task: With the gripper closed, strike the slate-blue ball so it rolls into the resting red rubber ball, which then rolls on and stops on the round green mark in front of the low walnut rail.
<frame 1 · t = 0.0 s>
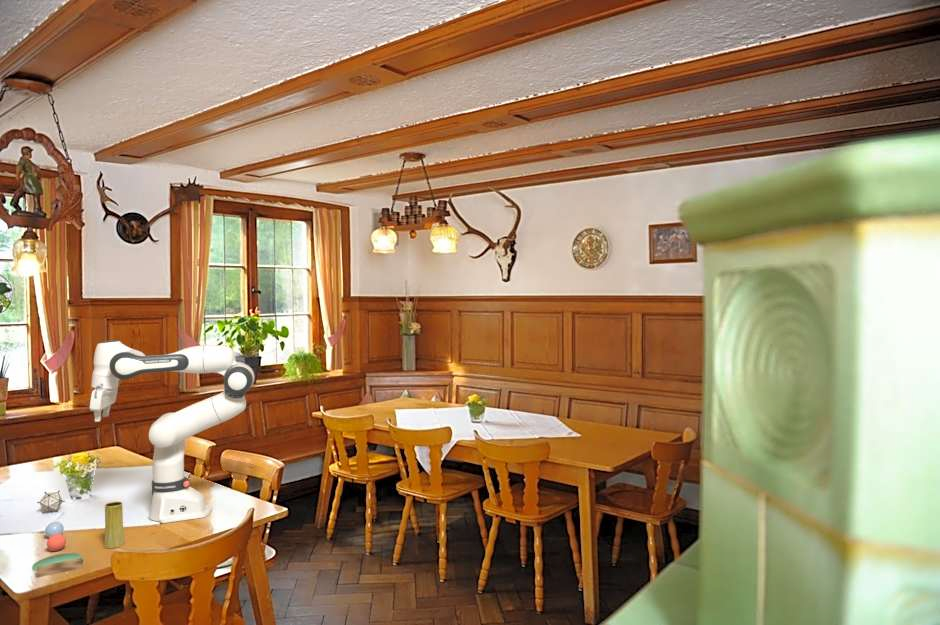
hand: (101, 418, 243), 39 cm above the table, tool pointing down, fingers open, 8 cm apart
blue ball: (54, 529, 227), on the table
vase: (114, 545, 220), on the table
red ball: (56, 542, 215), on the table
green mark: (58, 562, 206), on the table
game die: (51, 512, 254), on the table
walnut stop: (60, 571, 199), on the table
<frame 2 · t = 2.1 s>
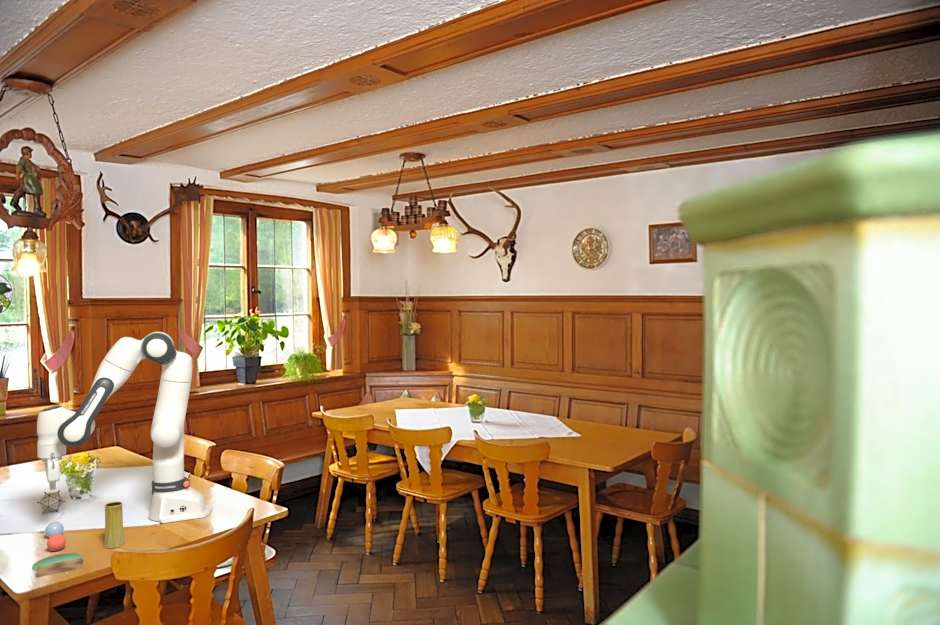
hand: (52, 488, 234), 15 cm above the table, tool pointing down, fingers closed
nothing on the table moved.
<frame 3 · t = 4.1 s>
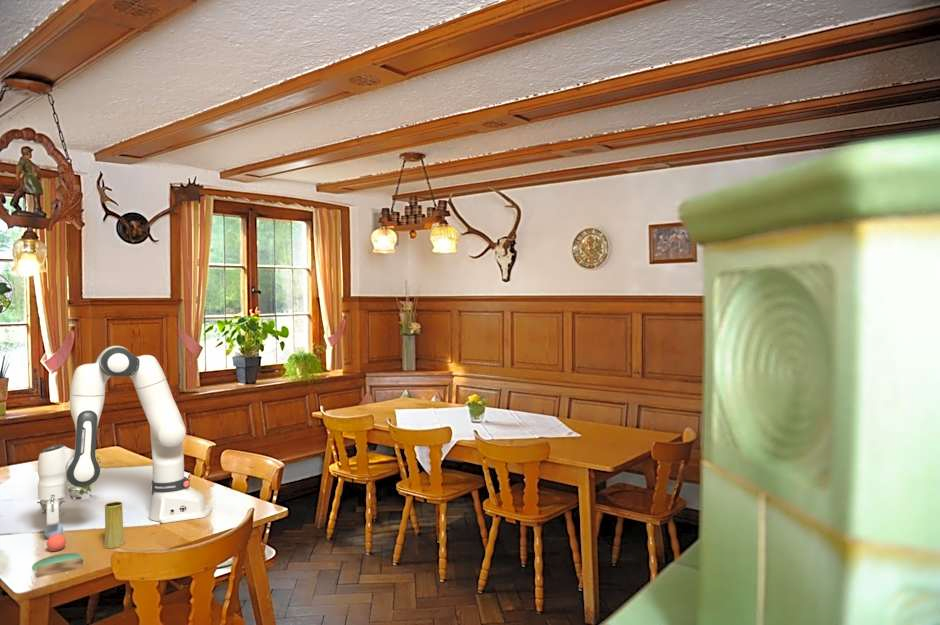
hand: (53, 530, 229), 2 cm above the table, tool pointing down, fingers closed
blue ball: (53, 530, 226), on the table, touching gripper
everything else where it was.
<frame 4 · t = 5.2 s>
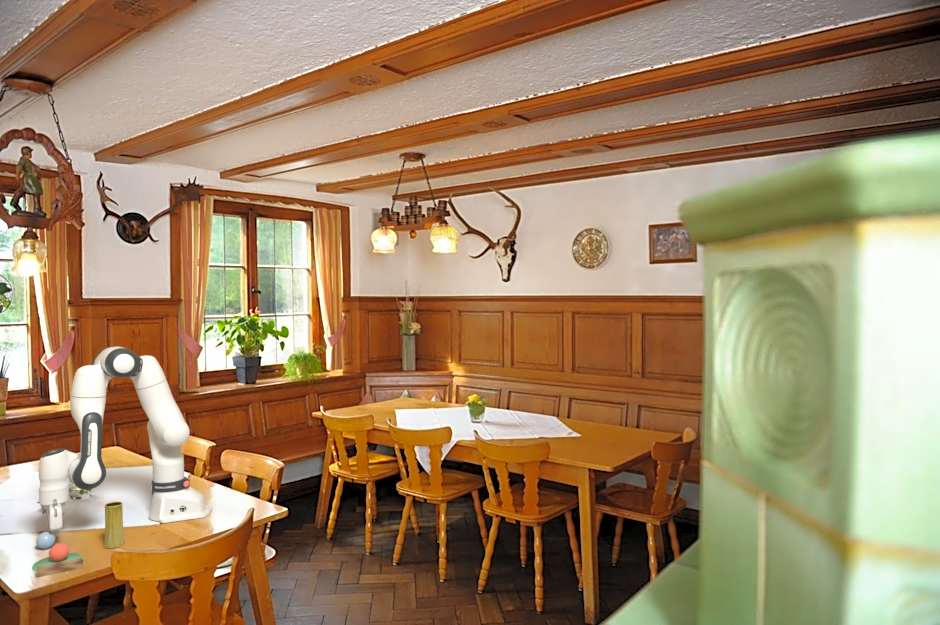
hand: (54, 535, 224), 2 cm above the table, tool pointing down, fingers closed
blue ball: (45, 540, 217), on the table
red ball: (59, 552, 207), on the table
everything else where it was.
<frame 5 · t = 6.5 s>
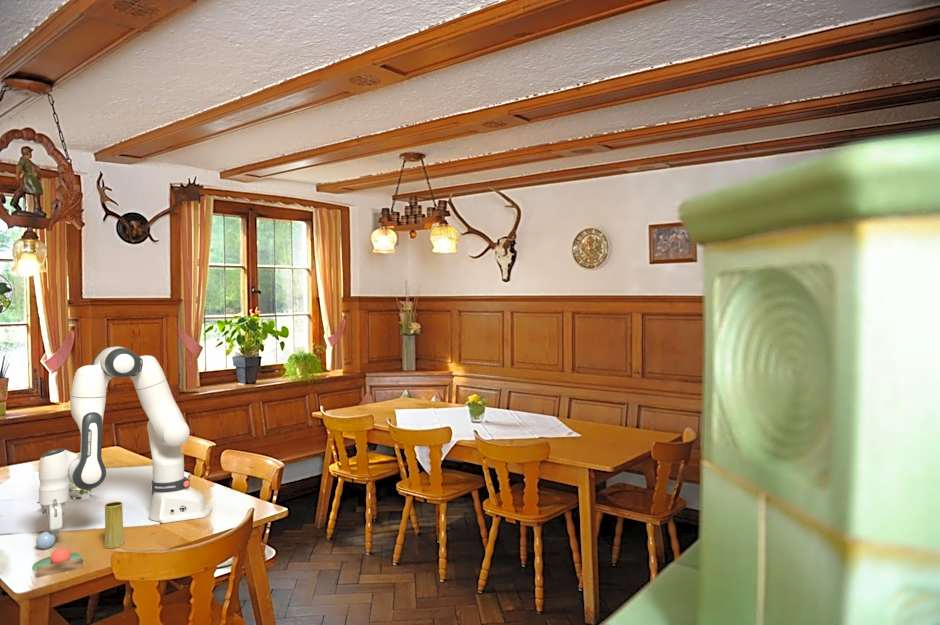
hand: (54, 535, 224), 2 cm above the table, tool pointing down, fingers closed
red ball: (60, 557, 203), on the table
everything else where it was.
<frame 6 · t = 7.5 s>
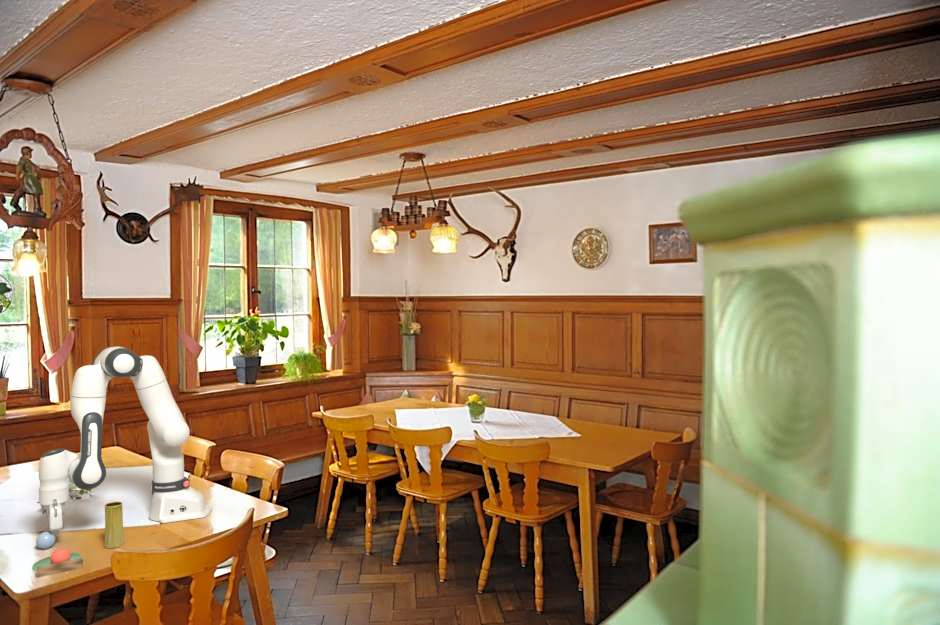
hand: (54, 535, 224), 2 cm above the table, tool pointing down, fingers closed
nothing on the table moved.
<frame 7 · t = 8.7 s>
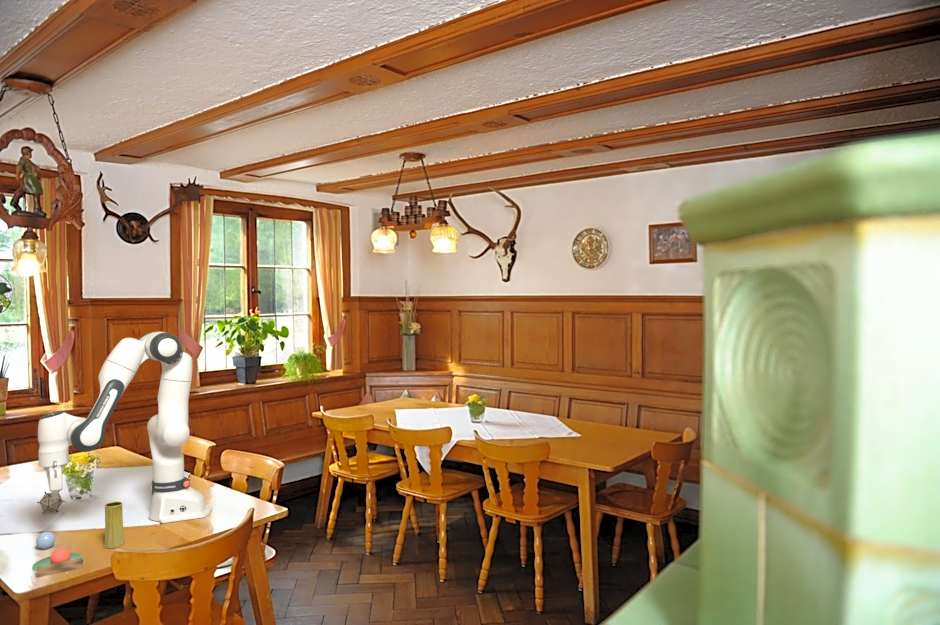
hand: (55, 498, 224), 15 cm above the table, tool pointing down, fingers closed
nothing on the table moved.
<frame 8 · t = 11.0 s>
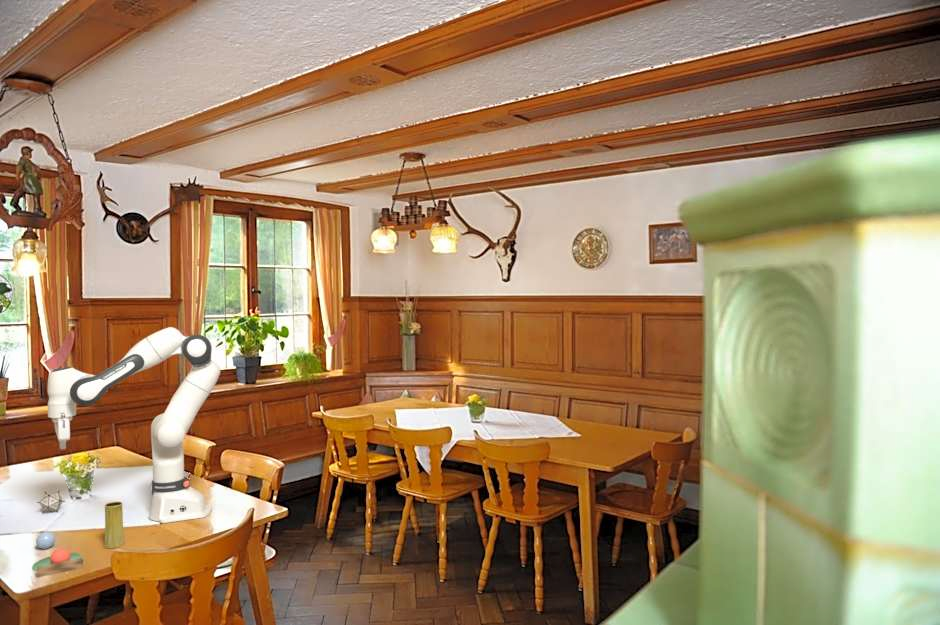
hand: (62, 448, 237), 29 cm above the table, tool pointing down, fingers closed
nothing on the table moved.
at the end: red ball 3.8 cm from the green mark (horizontally); red ball never touched the robot; blue ball first touched red ball at 4.3 s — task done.
